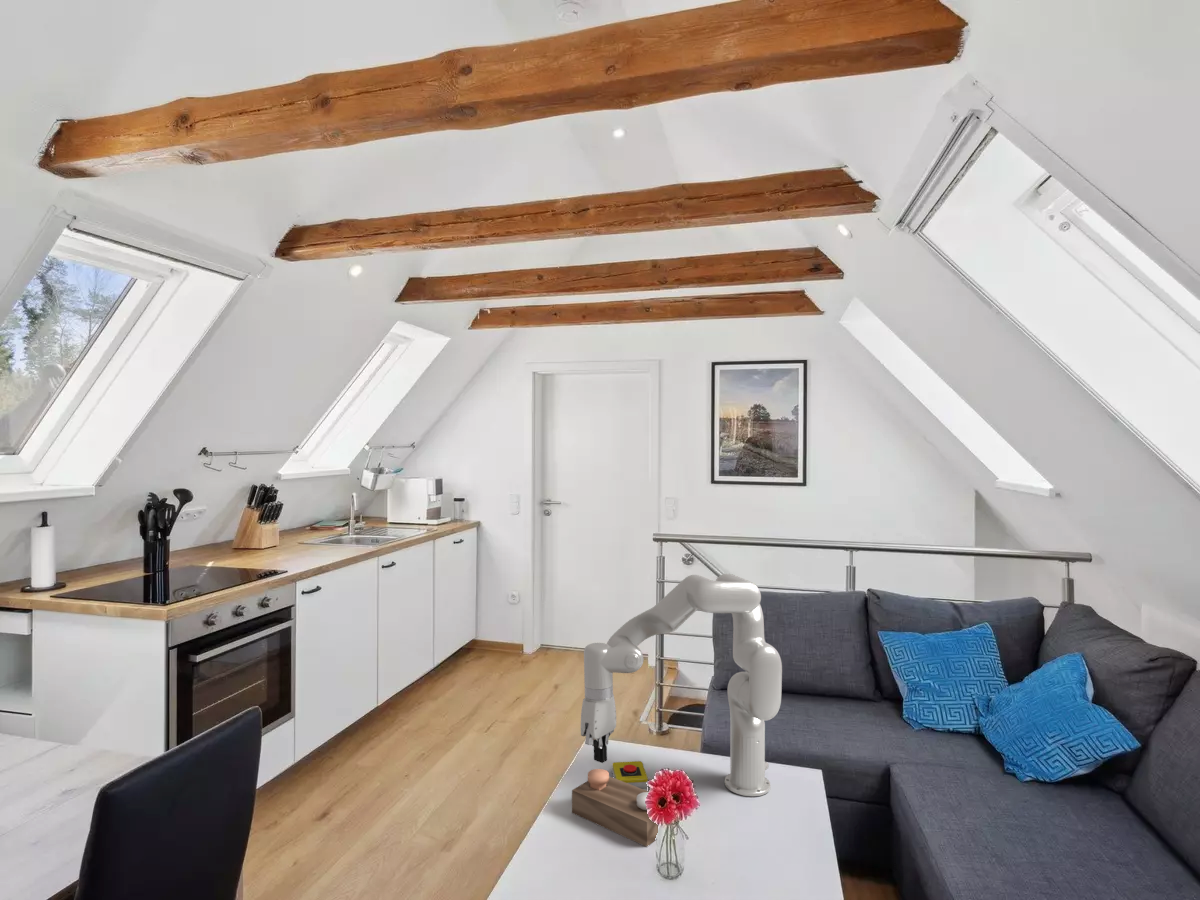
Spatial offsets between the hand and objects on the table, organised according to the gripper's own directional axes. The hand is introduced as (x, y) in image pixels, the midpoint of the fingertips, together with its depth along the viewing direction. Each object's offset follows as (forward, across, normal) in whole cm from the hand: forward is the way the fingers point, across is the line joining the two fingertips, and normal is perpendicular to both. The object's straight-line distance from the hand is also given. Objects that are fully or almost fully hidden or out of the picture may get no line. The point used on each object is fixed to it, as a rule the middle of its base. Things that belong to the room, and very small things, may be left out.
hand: (600, 760), depth 179 cm
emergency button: (+14, -17, -4) cm, 22 cm away
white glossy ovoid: (+12, +1, +15) cm, 20 cm away
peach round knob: (+11, +1, 0) cm, 11 cm away
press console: (+13, +1, +8) cm, 15 cm away
